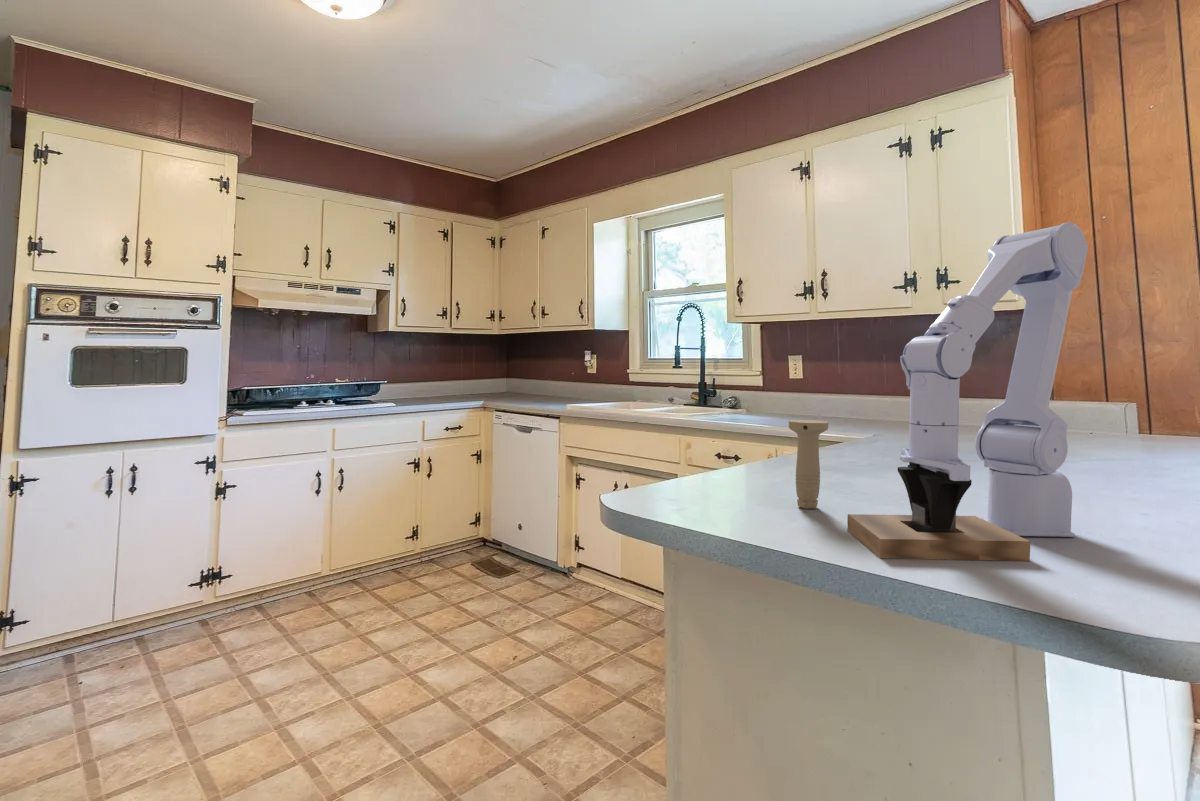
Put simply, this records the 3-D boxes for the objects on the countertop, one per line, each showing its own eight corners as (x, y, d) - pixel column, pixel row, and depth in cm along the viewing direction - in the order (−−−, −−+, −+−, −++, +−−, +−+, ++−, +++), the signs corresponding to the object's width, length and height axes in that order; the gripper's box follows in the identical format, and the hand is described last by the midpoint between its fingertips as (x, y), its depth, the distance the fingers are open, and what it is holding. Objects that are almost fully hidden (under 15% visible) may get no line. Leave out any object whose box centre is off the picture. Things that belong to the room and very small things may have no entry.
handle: (824, 512, 94) (825, 423, 93) (785, 508, 98) (785, 422, 97) (829, 506, 98) (830, 421, 97) (791, 502, 102) (792, 419, 101)
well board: (974, 532, 82) (975, 515, 82) (1029, 560, 70) (1030, 541, 70) (847, 530, 84) (847, 514, 84) (880, 558, 72) (880, 538, 72)
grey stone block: (941, 541, 79) (942, 502, 78) (955, 549, 75) (956, 508, 75) (911, 541, 79) (912, 502, 79) (923, 549, 76) (924, 508, 75)
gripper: (880, 419, 84) (879, 509, 85) (929, 430, 69) (926, 538, 70) (930, 418, 83) (928, 509, 84) (989, 430, 69) (986, 539, 69)
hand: (931, 522), depth 77 cm, fingers open, 5 cm apart
